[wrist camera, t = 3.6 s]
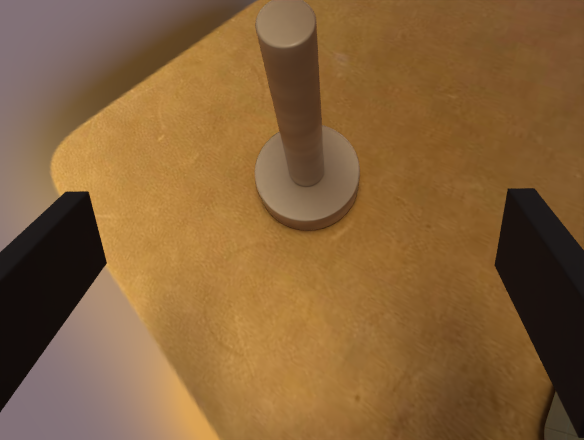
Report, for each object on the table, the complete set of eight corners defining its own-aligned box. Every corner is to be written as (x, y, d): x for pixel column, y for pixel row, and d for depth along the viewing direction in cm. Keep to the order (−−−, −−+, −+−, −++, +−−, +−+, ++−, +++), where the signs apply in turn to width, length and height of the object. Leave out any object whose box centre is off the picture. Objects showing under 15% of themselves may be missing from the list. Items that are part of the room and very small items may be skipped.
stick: (289, 248, 30) (246, 136, 16) (242, 167, 32) (165, -2, 17) (377, 199, 30) (415, 45, 16) (326, 121, 32) (319, -81, 18)
